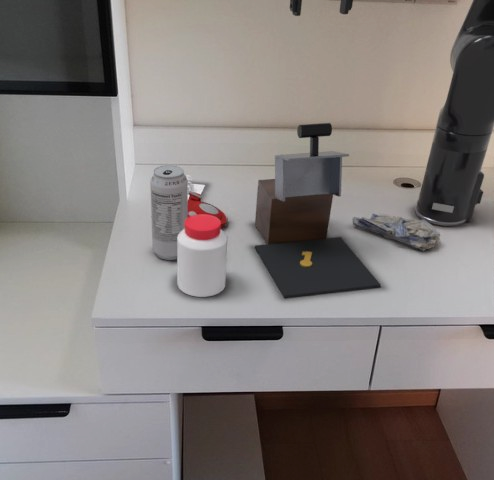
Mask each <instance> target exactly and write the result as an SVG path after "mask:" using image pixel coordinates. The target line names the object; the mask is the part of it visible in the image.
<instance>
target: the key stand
mask: <svg viewBox="0 0 494 480" xmlns="http://www.w3.org/2000/svg"><path fill="white" fill-rule="evenodd" d="M333 199H334V195H333V194H319V195H308V196H297V197H285V201H284V202H283V201H281V200H279V199H276V198H275V178H268V179H267V178H266V179H258V181H257V191H256V203H255V204H256V205H255V206H256V207H255V217H254V218H255V219H254V226H255V227H256V229H257V230H258V232H259V235H261V237H262V239H263V240H264V242H265V244H275V243H285V242H296V241H306V240H316V239H326V238H328V232H329V224H330V220H331V219H330V218H331V211H332V207H333V206H332V205H333Z"/></svg>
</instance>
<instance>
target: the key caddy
mask: <svg viewBox="0 0 494 480" xmlns="http://www.w3.org/2000/svg"><path fill="white" fill-rule="evenodd" d="M296 130H297V131H296V134H297V137H298V138H299V139H307V138H309V152H303V153H301V152H300V153H299V152H298V153H289V154H275V155H274V179H275V198H276V199H279V200H281V201H283V202H284V201H285V197H297V196H308V195H319V194H333V196H335V197H339V198H340V197H342V176H343V158H344V157H350V153H345V152H339V151H335V150H328V151H327V150H325V151H319V144H320V142H319V140H320V137H321V138H322V137H330V136H331V135H332V133H333V126H332V123H331V122H320V123H308V124H307V123H305V124H299V125H298V126H297V129H296Z"/></svg>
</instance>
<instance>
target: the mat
mask: <svg viewBox="0 0 494 480" xmlns="http://www.w3.org/2000/svg"><path fill="white" fill-rule="evenodd" d="M254 249H255V250H256V253H257V254H258V256H259V258H260V259H261V261H262V263H263V264H264V266H265V268H266V270H267V272H268V273H269V275H270V277H271V278H272V280H273V282H274V283H275V285H276V287H277V288H278V290H279V292H280V294H281V295H282V297H283V299H287V298H298V297H306V296H314V295H315V296H316V295H323V294H332V293H341V292H348V291H349V292H350V291H358V290H365V289H366V290H367V289H375V288H376V289H377V288H381V285H382V284H381V283H380V282H379V281H378V280H377V278H376V277H375V275H373V274H372V272H371V271H370V270H369V269H368V268H367V267H366V265H365V264H364V263H363V262H362V261H361V259H360V258H359V257H358V256H357V255H356V253H355V252H354V251H353V250H352V248H350V246H349V245H348V244H347V243H346V242H345V241H344V239H343V238H342V237H341V236H340V237H339V236H337V237H327V238H326V239H316V240H306V241H296V242H285V243H275V244H267V243H265V244H255V245H254ZM303 251H304V252H306V251H308V252H312V255H311V259H310V261H311V262H312V266H311V267H303V266H301V265H300V261H302V260H304V258H305V256H302V252H303Z"/></svg>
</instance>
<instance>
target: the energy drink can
mask: <svg viewBox="0 0 494 480" xmlns="http://www.w3.org/2000/svg"><path fill="white" fill-rule="evenodd" d="M149 184H150V188H149V189H150V212H151V213H150V214H151V218H150V219H151V239H152V240H151V243H152V246H151V247H152V251H153V252H154V254H155V255H156V256H157V257H158V258H159V259H162V260H166V261H167V260H168V261H172V260H177V236H178V234H179V233H180V232H181V231H182V230H183V229H184V222H185V220H186V219H187V218H188V180H187V178H186V176H185V171H184V168H182V167H181V166H180V165H179V166H178V165H176V164H175V165H174V164H173V165H172V164H164V165H160V166H157V167H155V168H154V169H153V175H152V176H151V178H150V181H149Z"/></svg>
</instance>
